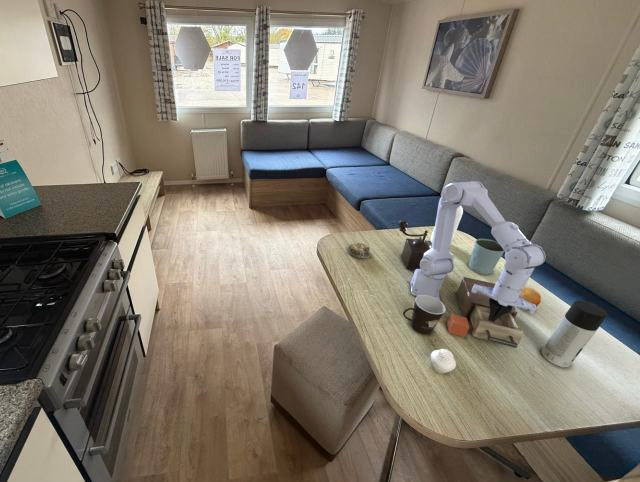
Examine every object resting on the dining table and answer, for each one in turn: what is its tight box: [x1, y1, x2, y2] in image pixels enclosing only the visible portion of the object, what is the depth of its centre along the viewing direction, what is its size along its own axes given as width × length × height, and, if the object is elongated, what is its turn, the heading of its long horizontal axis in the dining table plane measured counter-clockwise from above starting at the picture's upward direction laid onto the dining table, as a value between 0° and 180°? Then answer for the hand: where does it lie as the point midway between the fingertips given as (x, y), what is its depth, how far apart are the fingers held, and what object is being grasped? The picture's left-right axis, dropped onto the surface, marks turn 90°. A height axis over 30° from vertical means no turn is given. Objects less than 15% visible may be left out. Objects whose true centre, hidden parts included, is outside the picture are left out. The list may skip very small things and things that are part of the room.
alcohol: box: [430, 205, 464, 246], centre depth 142 cm, size 9×9×30 cm
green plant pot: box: [468, 238, 505, 276], centre depth 128 cm, size 10×10×12 cm
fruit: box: [519, 286, 542, 308], centre depth 110 cm, size 8×8×8 cm
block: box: [446, 313, 470, 338], centre depth 99 cm, size 4×4×4 cm
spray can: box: [541, 299, 608, 368], centre depth 87 cm, size 7×7×20 cm
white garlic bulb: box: [430, 348, 457, 374], centre depth 86 cm, size 6×6×7 cm
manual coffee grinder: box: [397, 219, 432, 271], centre depth 129 cm, size 16×11×18 cm
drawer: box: [469, 305, 525, 349], centre depth 98 cm, size 18×11×6 cm, turn 159°
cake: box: [347, 241, 372, 259], centre depth 138 cm, size 10×10×5 cm
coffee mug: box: [402, 295, 447, 336], centre depth 99 cm, size 12×9×10 cm
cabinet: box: [456, 276, 519, 322], centre depth 107 cm, size 15×13×8 cm
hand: (491, 319), depth 92 cm, fingers closed
